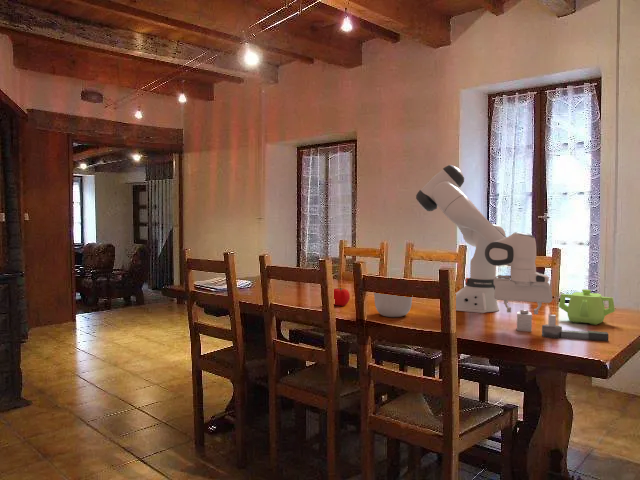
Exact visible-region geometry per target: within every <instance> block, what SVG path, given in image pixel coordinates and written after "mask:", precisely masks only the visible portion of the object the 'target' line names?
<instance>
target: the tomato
mask: <svg viewBox="0 0 640 480" xmlns="http://www.w3.org/2000/svg"><path fill="white" fill-rule="evenodd" d="M333 289H334V299H335V305H334V306H338V307H340V306H341V307H343V306H346V305H347V304H348V303H349V301H350V299H351V295H350V291H348V290H347V288H342V287H338V288H337V287H335V288H333Z"/></svg>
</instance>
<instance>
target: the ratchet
mask: <svg viewBox="0 0 640 480" xmlns="http://www.w3.org/2000/svg"><path fill="white" fill-rule="evenodd" d="M556 317H557V316H556V314H548V324H542V325H541V336H542V337H543V338H545V339H546V338H547V339H571V340H572V339H573V340H585V341H587V340H588V341H597V342H599V341H600V342H609V333H608V332H607V331H595V330H594V331H593V330H587V331H581V330H579V331H578V330H567V329H563V328H562V327H563V326H561V325H557V324H556V323H557V322H556V321H557V320H556Z"/></svg>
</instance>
